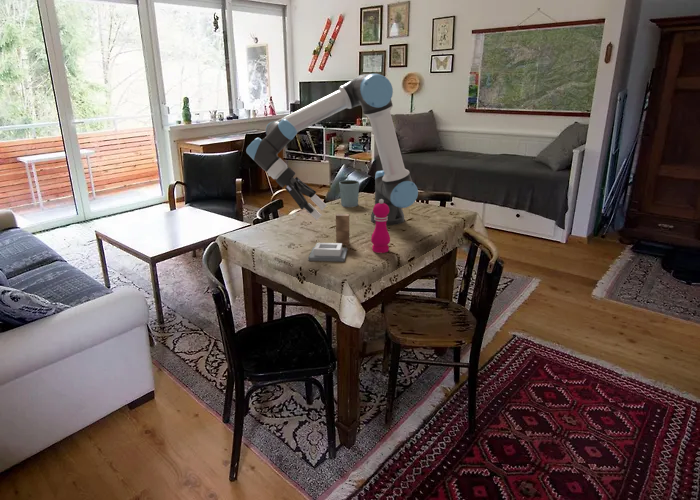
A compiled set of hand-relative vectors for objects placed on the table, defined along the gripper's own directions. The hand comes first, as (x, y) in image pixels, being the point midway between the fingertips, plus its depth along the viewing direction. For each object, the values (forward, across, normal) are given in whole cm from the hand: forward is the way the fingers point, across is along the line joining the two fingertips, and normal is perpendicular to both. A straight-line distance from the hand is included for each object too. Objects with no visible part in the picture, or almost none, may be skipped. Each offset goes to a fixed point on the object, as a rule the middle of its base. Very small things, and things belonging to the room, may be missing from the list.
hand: (322, 212), depth 180 cm
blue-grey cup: (+13, -59, -6) cm, 61 cm away
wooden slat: (+15, 0, -3) cm, 15 cm away
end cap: (+12, +13, -6) cm, 18 cm away
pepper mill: (+25, +6, +7) cm, 27 cm away
